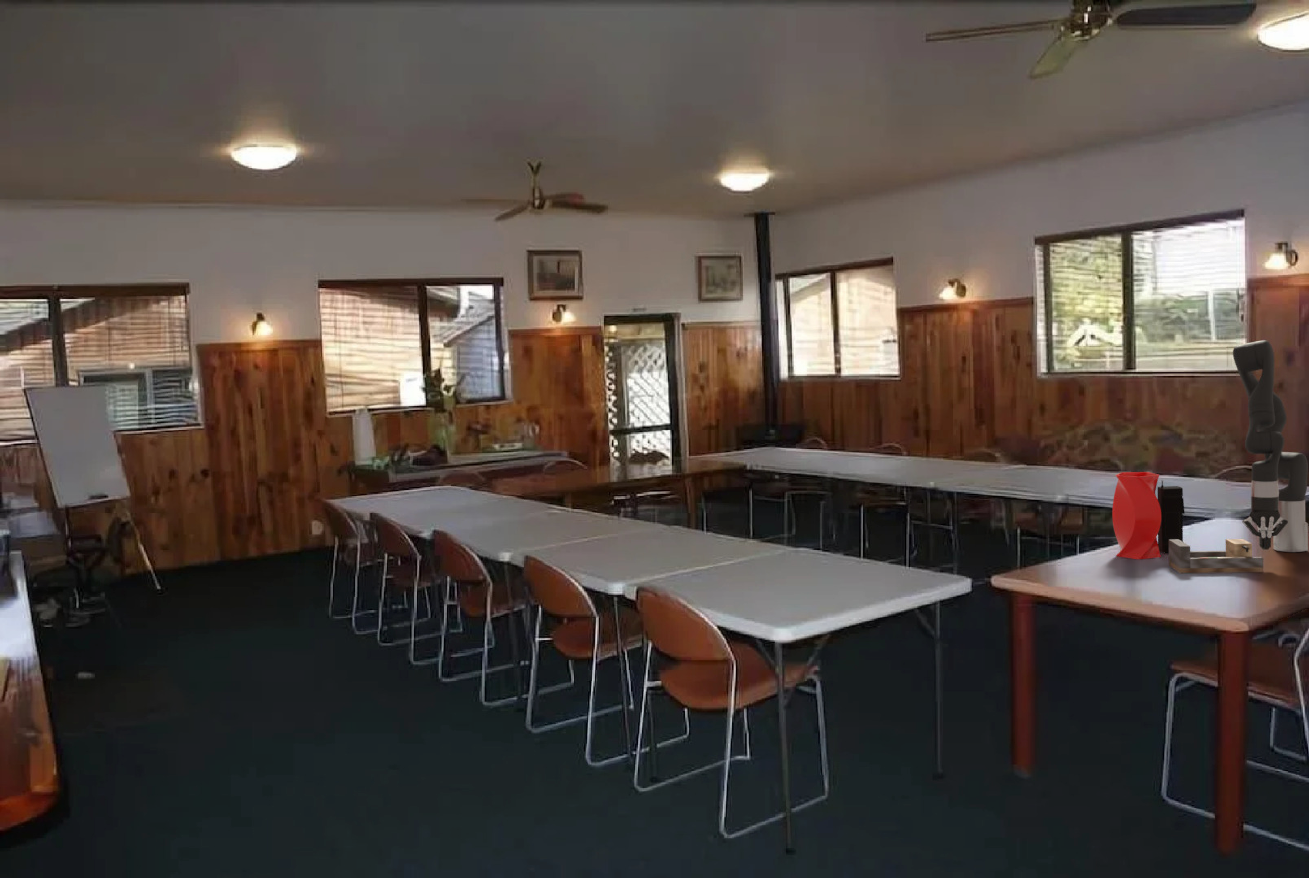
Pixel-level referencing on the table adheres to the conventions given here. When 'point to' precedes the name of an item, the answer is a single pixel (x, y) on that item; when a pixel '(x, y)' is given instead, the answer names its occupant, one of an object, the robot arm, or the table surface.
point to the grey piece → (1209, 560)
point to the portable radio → (1170, 515)
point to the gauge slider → (1238, 548)
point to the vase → (1136, 515)
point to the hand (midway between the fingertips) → (1265, 549)
